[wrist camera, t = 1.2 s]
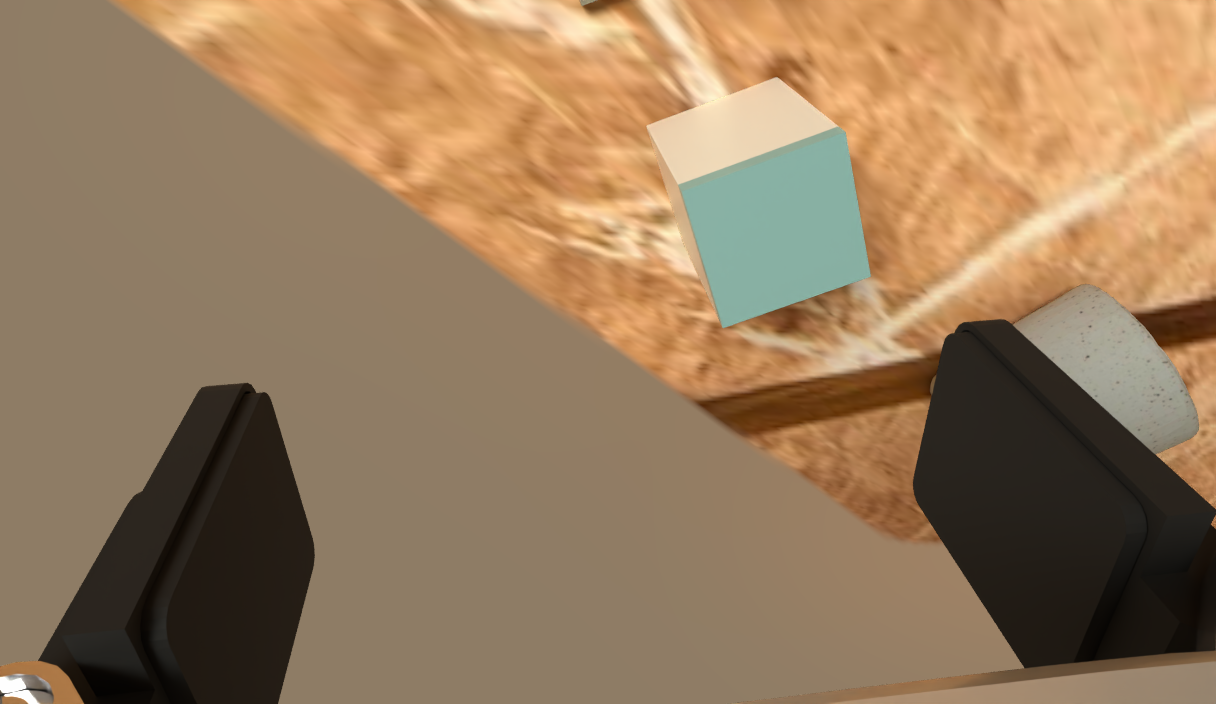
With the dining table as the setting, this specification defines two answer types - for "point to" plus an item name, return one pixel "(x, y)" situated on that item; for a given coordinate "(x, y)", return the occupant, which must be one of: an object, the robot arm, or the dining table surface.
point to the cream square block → (586, 2)
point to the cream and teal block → (762, 199)
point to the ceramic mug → (1114, 364)
